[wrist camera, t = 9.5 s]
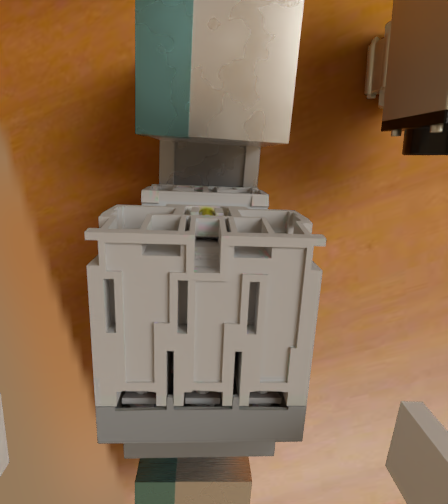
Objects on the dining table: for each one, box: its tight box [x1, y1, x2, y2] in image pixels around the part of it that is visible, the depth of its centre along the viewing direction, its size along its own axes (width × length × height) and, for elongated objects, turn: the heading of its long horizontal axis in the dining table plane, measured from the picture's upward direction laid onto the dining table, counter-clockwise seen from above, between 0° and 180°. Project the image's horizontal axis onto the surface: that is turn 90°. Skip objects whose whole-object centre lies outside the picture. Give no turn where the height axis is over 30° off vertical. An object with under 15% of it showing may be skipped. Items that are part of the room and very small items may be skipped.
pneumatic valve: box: [364, 0, 448, 155], centre depth 20 cm, size 6×12×12 cm, turn 1°
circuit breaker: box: [84, 184, 326, 458], centre depth 20 cm, size 8×14×15 cm, turn 178°
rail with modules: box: [135, 0, 304, 504], centre depth 24 cm, size 32×7×11 cm, turn 176°
